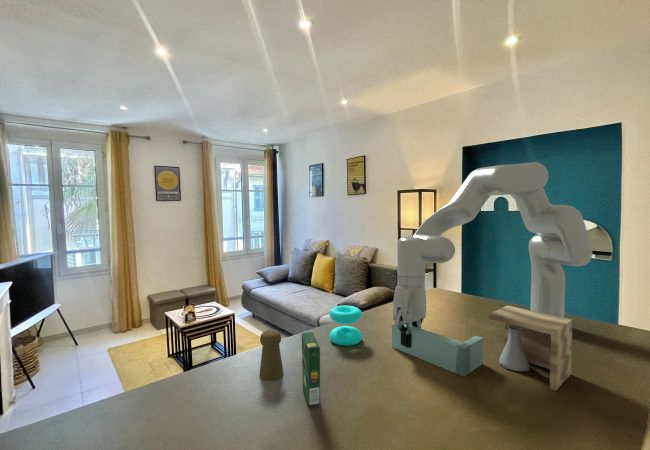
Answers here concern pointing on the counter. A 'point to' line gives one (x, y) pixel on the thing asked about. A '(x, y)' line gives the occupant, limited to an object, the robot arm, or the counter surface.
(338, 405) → the counter surface
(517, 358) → the flask
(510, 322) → the wooden corner bracket
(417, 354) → the block
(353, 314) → the donuts
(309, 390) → the coffee box
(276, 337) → the olive pawn
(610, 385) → the counter surface
